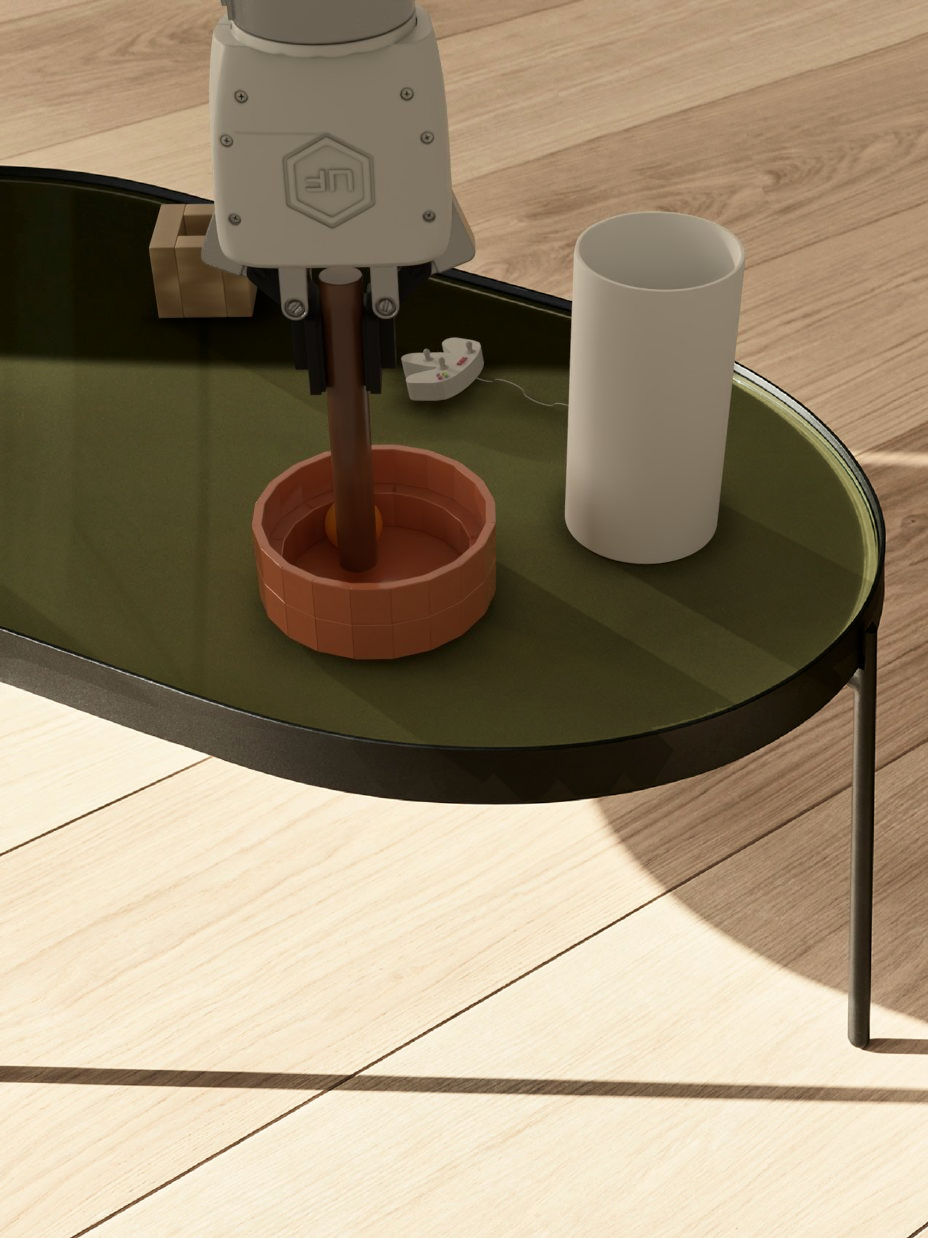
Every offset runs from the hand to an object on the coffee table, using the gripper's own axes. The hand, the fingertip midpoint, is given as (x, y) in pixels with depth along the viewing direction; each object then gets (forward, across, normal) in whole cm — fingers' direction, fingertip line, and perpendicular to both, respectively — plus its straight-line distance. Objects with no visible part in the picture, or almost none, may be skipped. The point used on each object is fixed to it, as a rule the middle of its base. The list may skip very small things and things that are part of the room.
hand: (347, 376), depth 79 cm
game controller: (+12, +7, +17) cm, 22 cm away
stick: (+11, 0, -1) cm, 11 cm away
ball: (+10, 0, +2) cm, 10 cm away
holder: (+12, -11, +30) cm, 34 cm away
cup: (+12, +15, +5) cm, 20 cm away
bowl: (+12, +1, -1) cm, 12 cm away
